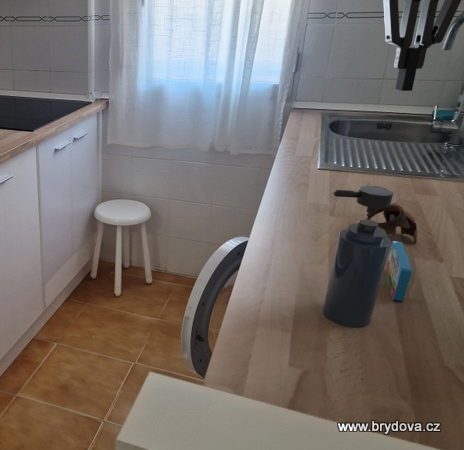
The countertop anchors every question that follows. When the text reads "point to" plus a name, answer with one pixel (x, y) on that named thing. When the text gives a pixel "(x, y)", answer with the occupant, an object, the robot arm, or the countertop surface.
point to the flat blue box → (398, 271)
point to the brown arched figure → (397, 221)
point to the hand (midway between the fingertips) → (403, 89)
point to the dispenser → (356, 274)
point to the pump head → (369, 197)
